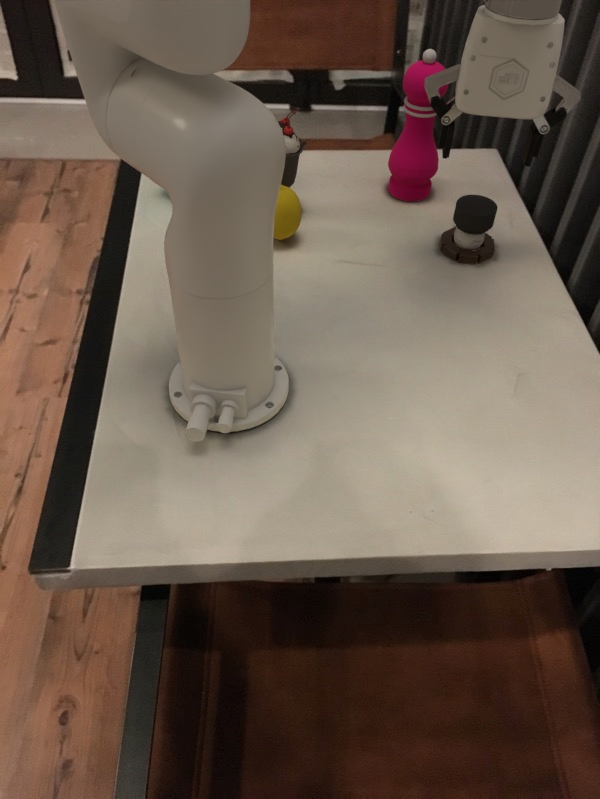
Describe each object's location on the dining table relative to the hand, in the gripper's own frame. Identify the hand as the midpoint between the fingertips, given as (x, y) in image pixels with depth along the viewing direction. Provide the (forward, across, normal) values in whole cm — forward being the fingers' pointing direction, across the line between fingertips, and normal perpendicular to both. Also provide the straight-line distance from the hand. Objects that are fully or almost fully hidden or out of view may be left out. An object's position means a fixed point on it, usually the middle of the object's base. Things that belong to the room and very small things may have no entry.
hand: (485, 157), depth 82 cm
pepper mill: (+13, -8, +15) cm, 21 cm away
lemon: (+14, -24, -1) cm, 28 cm away
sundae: (+14, -26, +6) cm, 29 cm away
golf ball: (+13, 0, +1) cm, 13 cm away
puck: (+10, 0, 0) cm, 10 cm away
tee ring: (+13, 0, +1) cm, 13 cm away
